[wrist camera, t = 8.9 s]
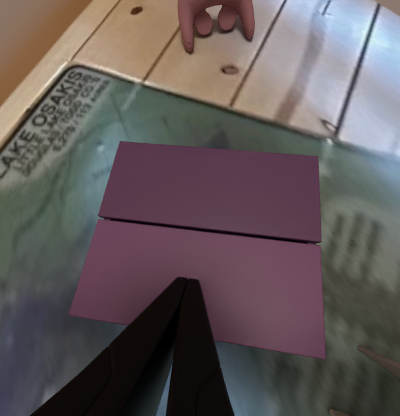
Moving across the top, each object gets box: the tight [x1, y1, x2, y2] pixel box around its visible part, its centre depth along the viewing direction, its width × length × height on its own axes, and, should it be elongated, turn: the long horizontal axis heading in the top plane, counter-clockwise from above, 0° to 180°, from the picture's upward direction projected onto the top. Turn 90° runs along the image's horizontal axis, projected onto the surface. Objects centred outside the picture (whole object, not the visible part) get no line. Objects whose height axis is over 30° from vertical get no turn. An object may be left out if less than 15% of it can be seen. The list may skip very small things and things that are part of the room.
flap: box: [69, 219, 326, 359], centre depth 12 cm, size 5×13×1 cm, turn 82°
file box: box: [98, 141, 321, 245], centre depth 17 cm, size 11×13×9 cm
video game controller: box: [178, 0, 255, 52], centre depth 29 cm, size 10×5×7 cm, turn 101°
